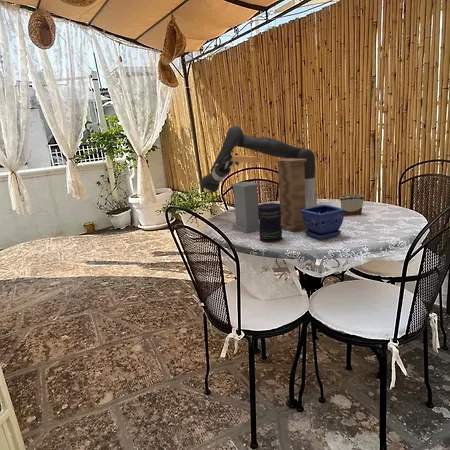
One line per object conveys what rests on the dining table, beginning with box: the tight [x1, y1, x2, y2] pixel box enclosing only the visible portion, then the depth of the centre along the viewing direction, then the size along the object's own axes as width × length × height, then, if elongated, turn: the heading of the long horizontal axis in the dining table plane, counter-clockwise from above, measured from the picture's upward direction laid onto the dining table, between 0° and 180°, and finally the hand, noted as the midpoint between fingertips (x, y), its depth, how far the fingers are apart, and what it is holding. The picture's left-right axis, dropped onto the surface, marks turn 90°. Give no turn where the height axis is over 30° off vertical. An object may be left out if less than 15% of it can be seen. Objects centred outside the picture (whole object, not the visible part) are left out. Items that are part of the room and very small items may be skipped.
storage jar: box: [258, 202, 283, 243], centre depth 154 cm, size 10×10×15 cm
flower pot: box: [301, 204, 345, 241], centre depth 153 cm, size 13×13×12 cm
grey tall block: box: [230, 181, 260, 234], centre depth 173 cm, size 12×10×22 cm
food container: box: [338, 193, 365, 217], centre depth 183 cm, size 12×6×10 cm, turn 84°
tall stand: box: [275, 158, 308, 233], centre depth 166 cm, size 12×10×32 cm
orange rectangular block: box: [230, 154, 259, 164], centre depth 168 cm, size 22×3×2 cm, turn 29°
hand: (234, 155), depth 173 cm, fingers closed on orange rectangular block, 3 cm apart
